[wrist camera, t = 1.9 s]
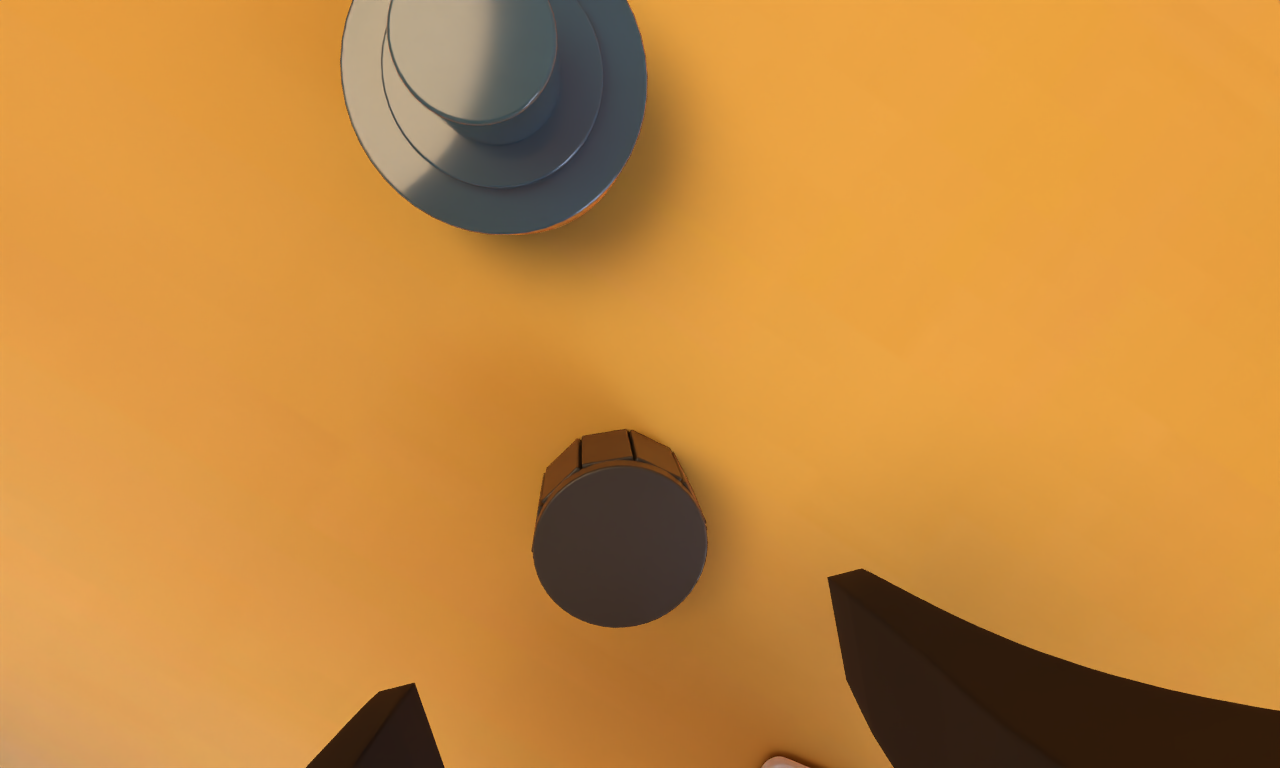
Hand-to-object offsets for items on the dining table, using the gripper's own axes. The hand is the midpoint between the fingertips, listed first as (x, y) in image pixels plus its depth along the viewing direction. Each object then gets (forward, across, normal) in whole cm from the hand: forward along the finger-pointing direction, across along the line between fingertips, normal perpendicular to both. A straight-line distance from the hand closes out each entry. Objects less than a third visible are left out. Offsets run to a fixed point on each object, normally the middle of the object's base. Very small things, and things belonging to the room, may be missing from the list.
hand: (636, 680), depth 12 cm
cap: (+8, 0, 0) cm, 8 cm away
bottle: (+8, 0, -11) cm, 13 cm away
